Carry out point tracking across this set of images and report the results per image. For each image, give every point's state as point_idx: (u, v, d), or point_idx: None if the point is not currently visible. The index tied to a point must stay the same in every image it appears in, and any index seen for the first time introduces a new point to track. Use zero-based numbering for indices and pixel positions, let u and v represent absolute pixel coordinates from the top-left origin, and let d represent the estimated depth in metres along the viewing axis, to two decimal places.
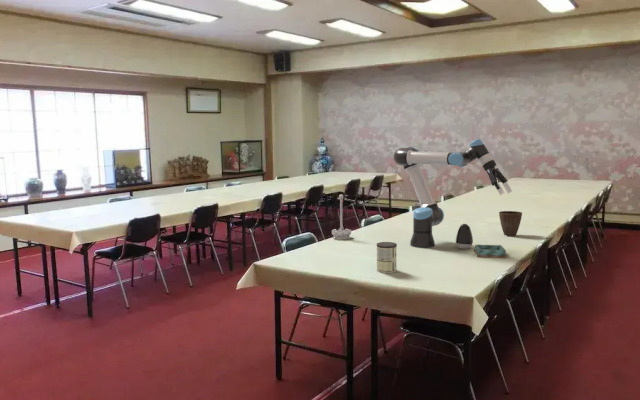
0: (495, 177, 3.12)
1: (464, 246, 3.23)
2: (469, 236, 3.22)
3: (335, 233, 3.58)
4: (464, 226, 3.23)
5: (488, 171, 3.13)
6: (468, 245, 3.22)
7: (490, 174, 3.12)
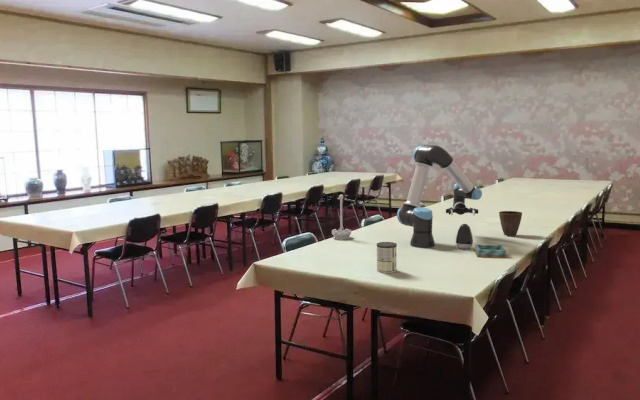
0: (470, 212, 3.45)
1: (464, 246, 3.23)
2: (469, 236, 3.22)
3: (335, 233, 3.58)
4: (464, 226, 3.23)
5: None
6: (468, 245, 3.22)
7: None
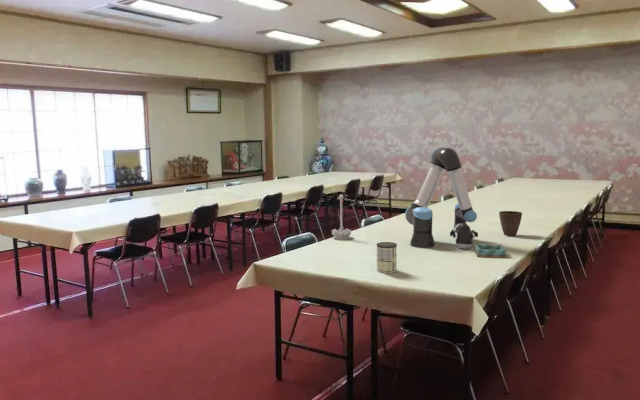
0: None
1: (464, 246, 3.23)
2: (469, 236, 3.22)
3: (335, 233, 3.58)
4: (464, 226, 3.23)
5: None
6: (468, 245, 3.22)
7: None
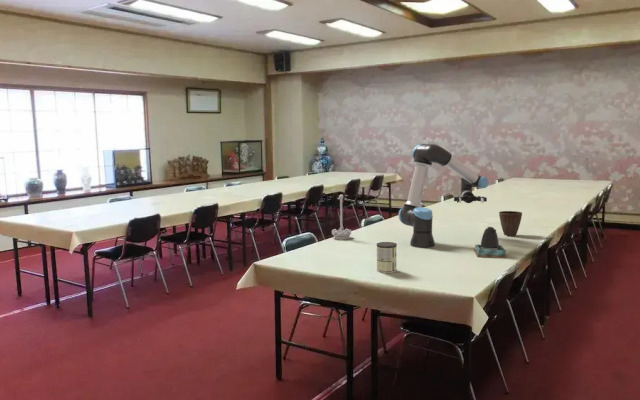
0: (478, 200, 3.43)
1: None
2: (495, 240, 3.05)
3: (335, 233, 3.58)
4: (490, 229, 3.06)
5: None
6: (494, 249, 3.06)
7: None
